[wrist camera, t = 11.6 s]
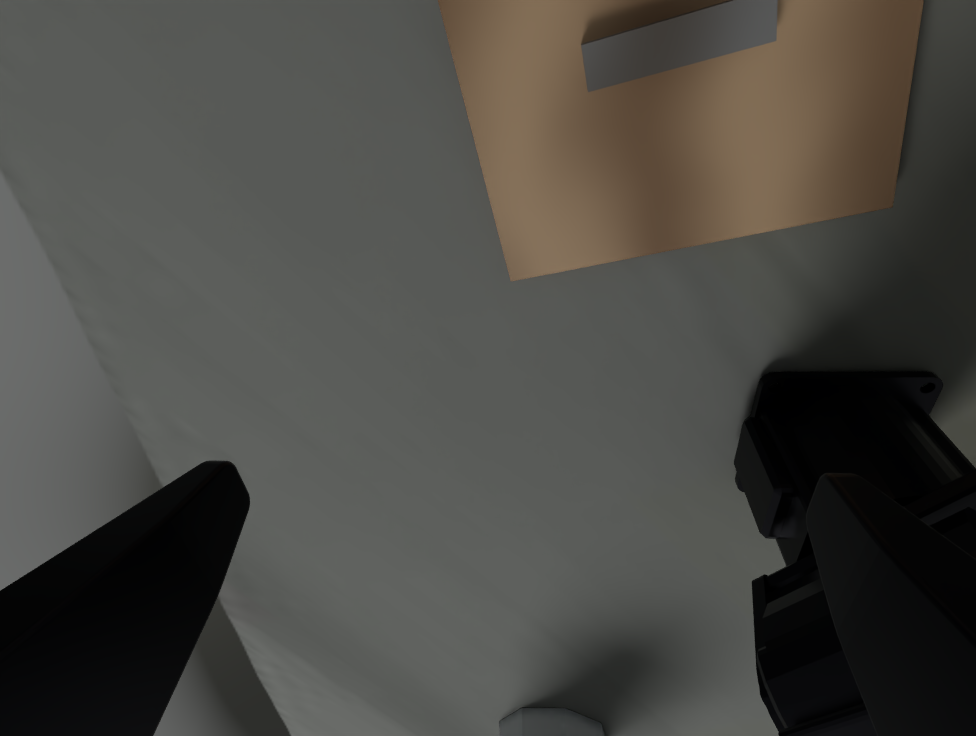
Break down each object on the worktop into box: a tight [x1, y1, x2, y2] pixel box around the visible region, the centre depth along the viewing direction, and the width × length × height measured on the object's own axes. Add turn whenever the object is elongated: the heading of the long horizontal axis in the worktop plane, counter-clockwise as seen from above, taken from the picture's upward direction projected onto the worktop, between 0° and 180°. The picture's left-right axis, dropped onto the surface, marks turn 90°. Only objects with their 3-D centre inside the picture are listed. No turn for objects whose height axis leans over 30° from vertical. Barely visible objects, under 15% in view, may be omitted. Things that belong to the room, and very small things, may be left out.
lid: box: [438, 0, 924, 281], centre depth 15 cm, size 12×12×1 cm
